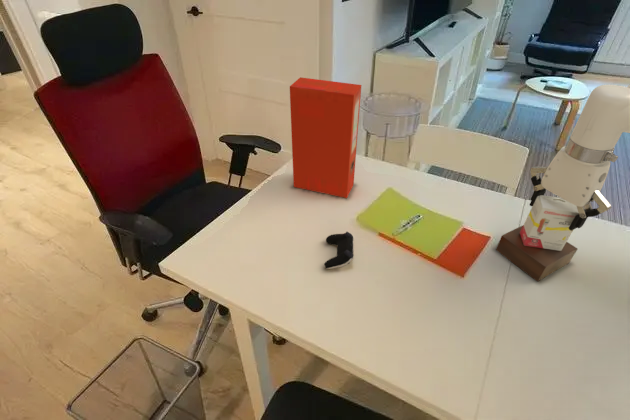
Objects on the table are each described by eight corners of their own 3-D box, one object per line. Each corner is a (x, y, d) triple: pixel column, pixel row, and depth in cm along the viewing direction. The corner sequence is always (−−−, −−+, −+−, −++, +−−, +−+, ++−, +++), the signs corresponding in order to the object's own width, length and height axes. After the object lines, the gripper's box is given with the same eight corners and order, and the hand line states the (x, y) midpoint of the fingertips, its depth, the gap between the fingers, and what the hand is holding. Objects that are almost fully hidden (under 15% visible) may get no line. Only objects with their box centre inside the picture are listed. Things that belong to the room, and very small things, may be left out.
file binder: (303, 174, 122) (300, 76, 102) (353, 184, 118) (361, 84, 98) (293, 187, 117) (289, 86, 96) (346, 198, 112) (353, 95, 92)
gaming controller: (334, 277, 91) (356, 264, 88) (322, 267, 89) (344, 254, 86) (335, 246, 99) (356, 233, 96) (324, 236, 97) (344, 223, 94)
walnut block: (526, 234, 100) (533, 220, 96) (569, 263, 91) (578, 248, 88) (495, 249, 95) (501, 235, 92) (537, 281, 87) (545, 267, 84)
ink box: (522, 246, 89) (541, 207, 82) (519, 232, 93) (536, 194, 85) (561, 252, 87) (584, 213, 80) (556, 238, 91) (577, 199, 84)
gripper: (644, 164, 70) (601, 232, 80) (558, 128, 81) (530, 191, 92) (622, 175, 67) (580, 244, 78) (536, 136, 79) (510, 200, 89)
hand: (553, 215), depth 85 cm, fingers open, 9 cm apart
